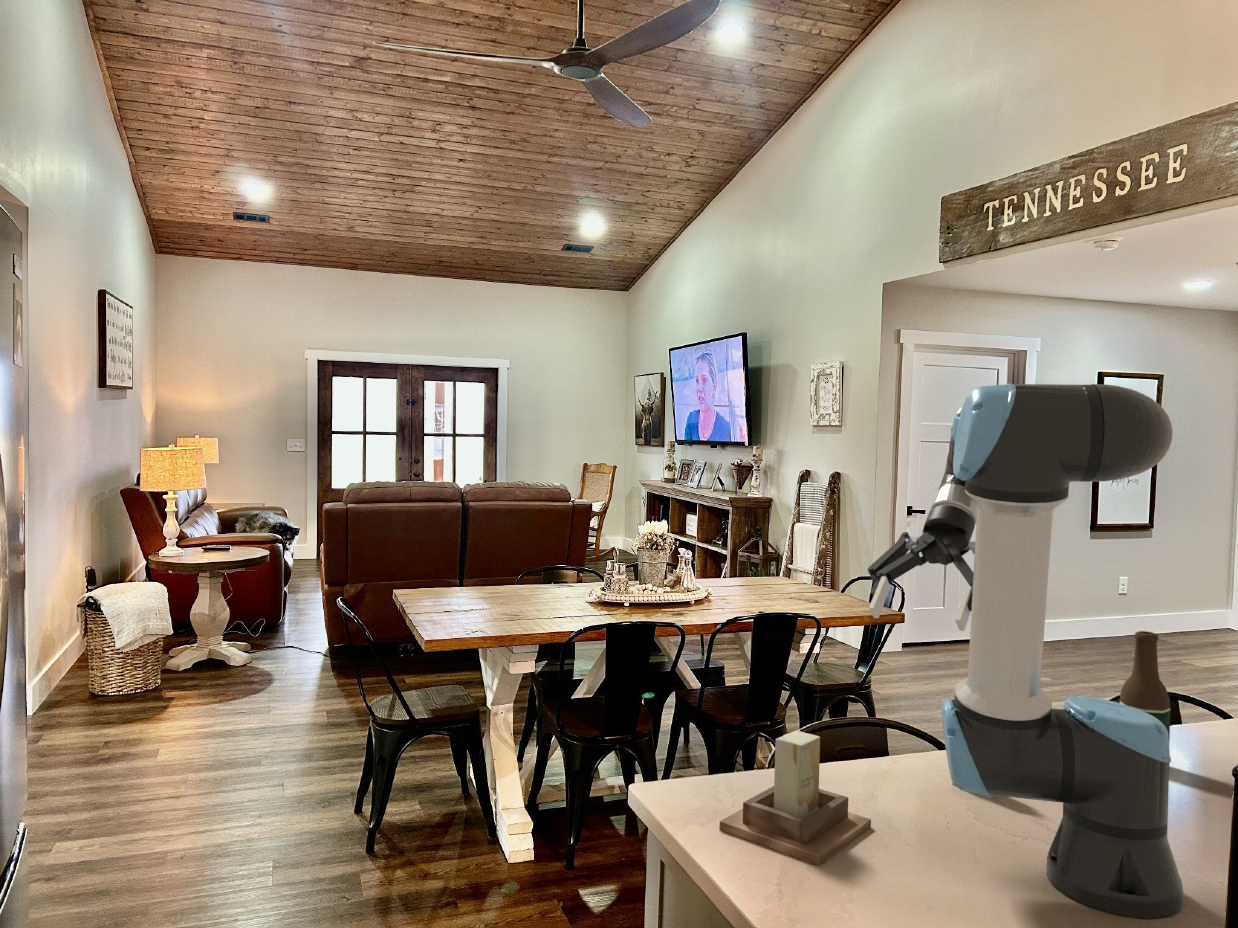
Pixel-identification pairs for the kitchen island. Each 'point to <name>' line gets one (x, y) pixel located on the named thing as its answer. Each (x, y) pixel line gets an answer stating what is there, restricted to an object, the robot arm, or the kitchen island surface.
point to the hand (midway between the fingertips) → (915, 619)
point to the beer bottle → (1147, 681)
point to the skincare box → (797, 773)
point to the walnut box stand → (798, 826)
